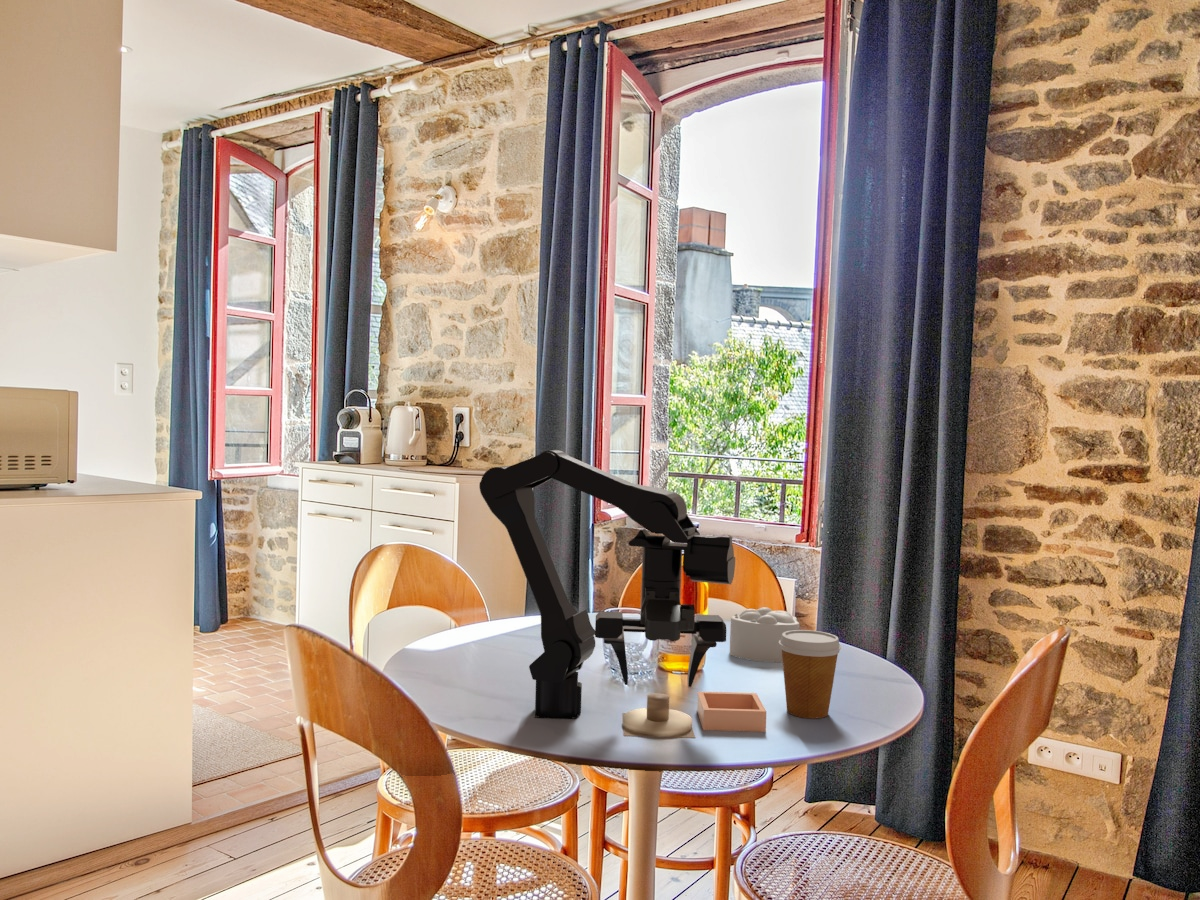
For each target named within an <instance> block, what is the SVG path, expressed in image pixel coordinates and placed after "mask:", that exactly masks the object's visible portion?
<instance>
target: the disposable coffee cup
mask: <svg viewBox="0 0 1200 900" xmlns="http://www.w3.org/2000/svg"><path fill="white" fill-rule="evenodd" d="M779 645H780V648H781V649H782V659H783V662H782V667H783V668H782V671H783V680H784V689H785V691H784V692H785V702H786V704H785V705H786V711H787V713H788V714H791V715H793V716H794V717H798V718H803V719H822V718H825V717H826V718H827V717H828V715H829V710H830V709H829V708H830V705H831V704H830V703H831V699H832V692H833V684H834V680H835V673H836V667H837V663H838V662H837V660H838V655H839V653H840V651H841V649H842V645H841V644H840V641H839V637H838V636H837V635H835V634H833V633H829V632H825V631H820V630H809V629H799V630H791V631H786V632H784V633H782V637H781V640H779Z"/></svg>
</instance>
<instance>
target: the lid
mask: <svg viewBox="0 0 1200 900" xmlns="http://www.w3.org/2000/svg"><path fill="white" fill-rule="evenodd" d="M646 702H647V703H646V707H642V708H641V707H640V708H635V709H632V710H630V711H627V712H624V713H625V714H624V716H623V715H622V726H623V725H624V727H625V728H626V729H628V730H629V731H632V732H634V733H637V734H641V735H647V736H657V737H656V738H669V737H668V736H677V735H682V734H685V733H687V732H689V731H690V730H691V729H692V728H693V718H692V717H691V716H690V715H689V714H687V713H685V712H683V711H681V710H676V709H671V708H670V695H668V694H665V693H658V692H655V693H649V694H647V695H646Z"/></svg>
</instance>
